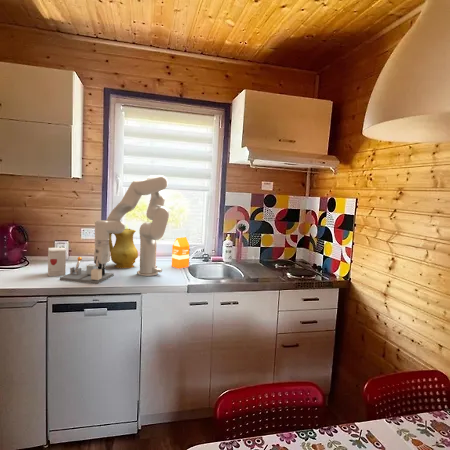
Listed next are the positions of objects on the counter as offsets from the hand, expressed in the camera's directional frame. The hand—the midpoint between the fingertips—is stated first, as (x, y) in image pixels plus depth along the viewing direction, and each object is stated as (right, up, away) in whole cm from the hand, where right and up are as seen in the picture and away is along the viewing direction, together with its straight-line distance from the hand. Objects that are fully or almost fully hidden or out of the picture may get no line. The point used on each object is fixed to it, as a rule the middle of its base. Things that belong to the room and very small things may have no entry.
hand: (101, 275), depth 191 cm
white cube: (-7, 0, +5) cm, 9 cm away
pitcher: (+2, +1, +35) cm, 35 cm away
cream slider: (-1, -1, -5) cm, 5 cm away
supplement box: (-28, -1, +6) cm, 29 cm away
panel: (-8, -2, +2) cm, 9 cm away
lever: (-16, +2, +3) cm, 16 cm away
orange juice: (+39, -1, +42) cm, 57 cm away
